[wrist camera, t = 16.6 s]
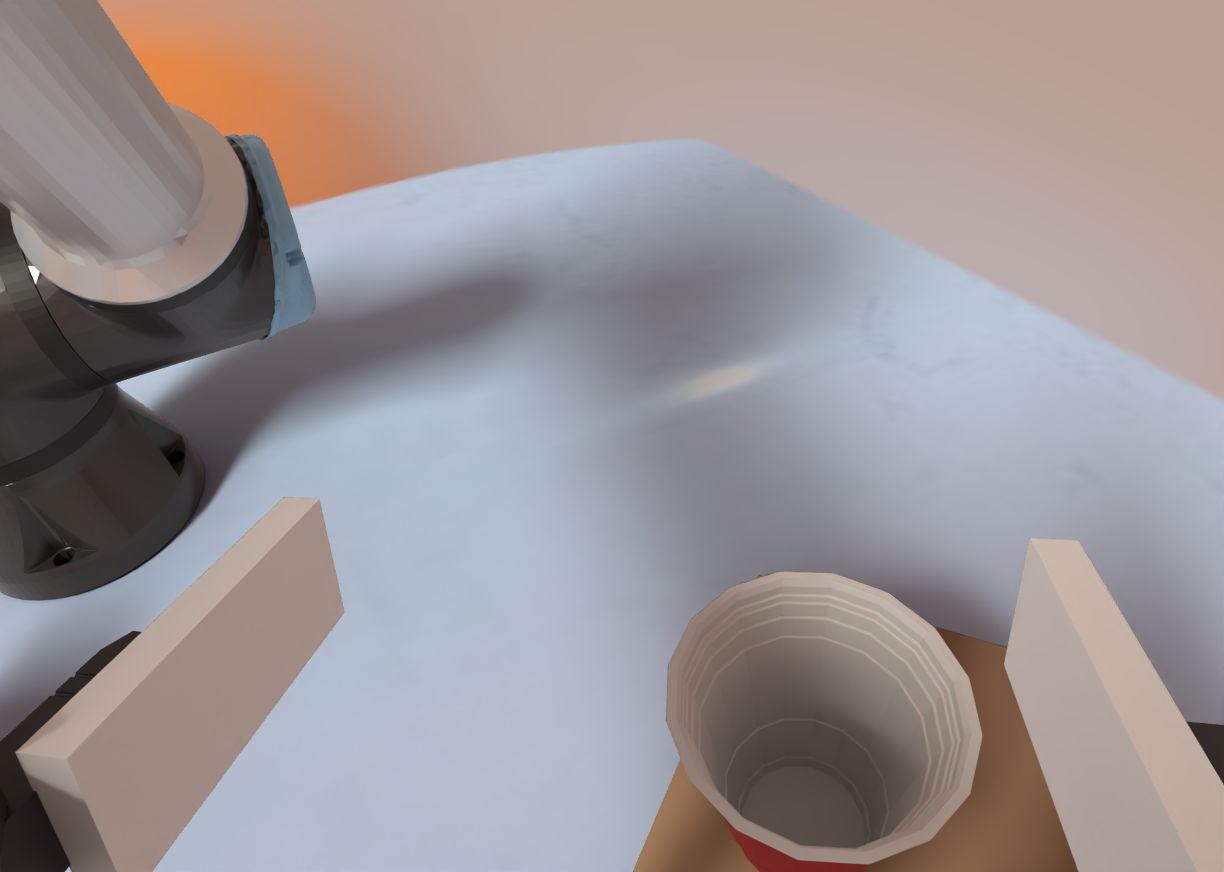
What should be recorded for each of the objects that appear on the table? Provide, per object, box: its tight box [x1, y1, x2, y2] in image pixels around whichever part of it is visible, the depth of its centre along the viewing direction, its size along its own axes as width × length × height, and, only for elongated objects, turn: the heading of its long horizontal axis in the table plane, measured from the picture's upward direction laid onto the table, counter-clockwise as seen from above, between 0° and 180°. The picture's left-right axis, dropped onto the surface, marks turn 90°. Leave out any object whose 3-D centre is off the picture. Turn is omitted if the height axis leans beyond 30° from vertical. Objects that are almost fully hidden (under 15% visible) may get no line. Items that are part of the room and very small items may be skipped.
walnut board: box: [633, 575, 1078, 872], centre depth 38 cm, size 19×19×1 cm
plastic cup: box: [666, 572, 983, 872], centre depth 33 cm, size 11×11×12 cm
